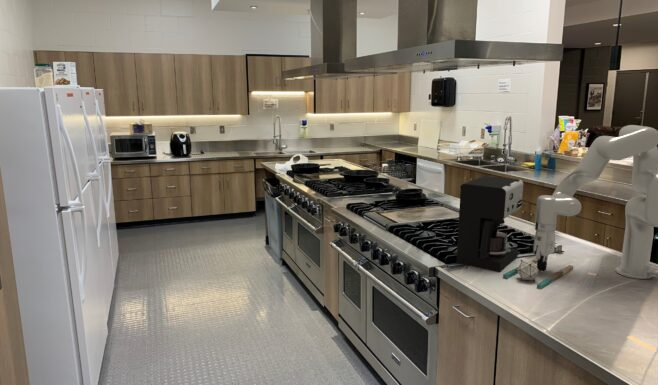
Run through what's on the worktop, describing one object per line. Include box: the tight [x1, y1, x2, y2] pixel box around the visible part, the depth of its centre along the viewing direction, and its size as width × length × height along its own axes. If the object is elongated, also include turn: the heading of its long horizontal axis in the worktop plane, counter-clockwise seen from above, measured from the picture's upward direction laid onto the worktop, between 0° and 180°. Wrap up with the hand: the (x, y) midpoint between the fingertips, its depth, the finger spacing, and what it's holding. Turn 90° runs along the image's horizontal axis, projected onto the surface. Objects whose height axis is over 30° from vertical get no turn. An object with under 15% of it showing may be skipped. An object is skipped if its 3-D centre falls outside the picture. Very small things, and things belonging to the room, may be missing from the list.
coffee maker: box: [456, 175, 524, 273], centre depth 205 cm, size 28×20×35 cm
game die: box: [515, 259, 542, 283], centre depth 187 cm, size 9×8×10 cm
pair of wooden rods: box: [502, 257, 574, 290], centre depth 194 cm, size 15×30×2 cm, turn 133°
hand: (541, 270), depth 195 cm, fingers closed
